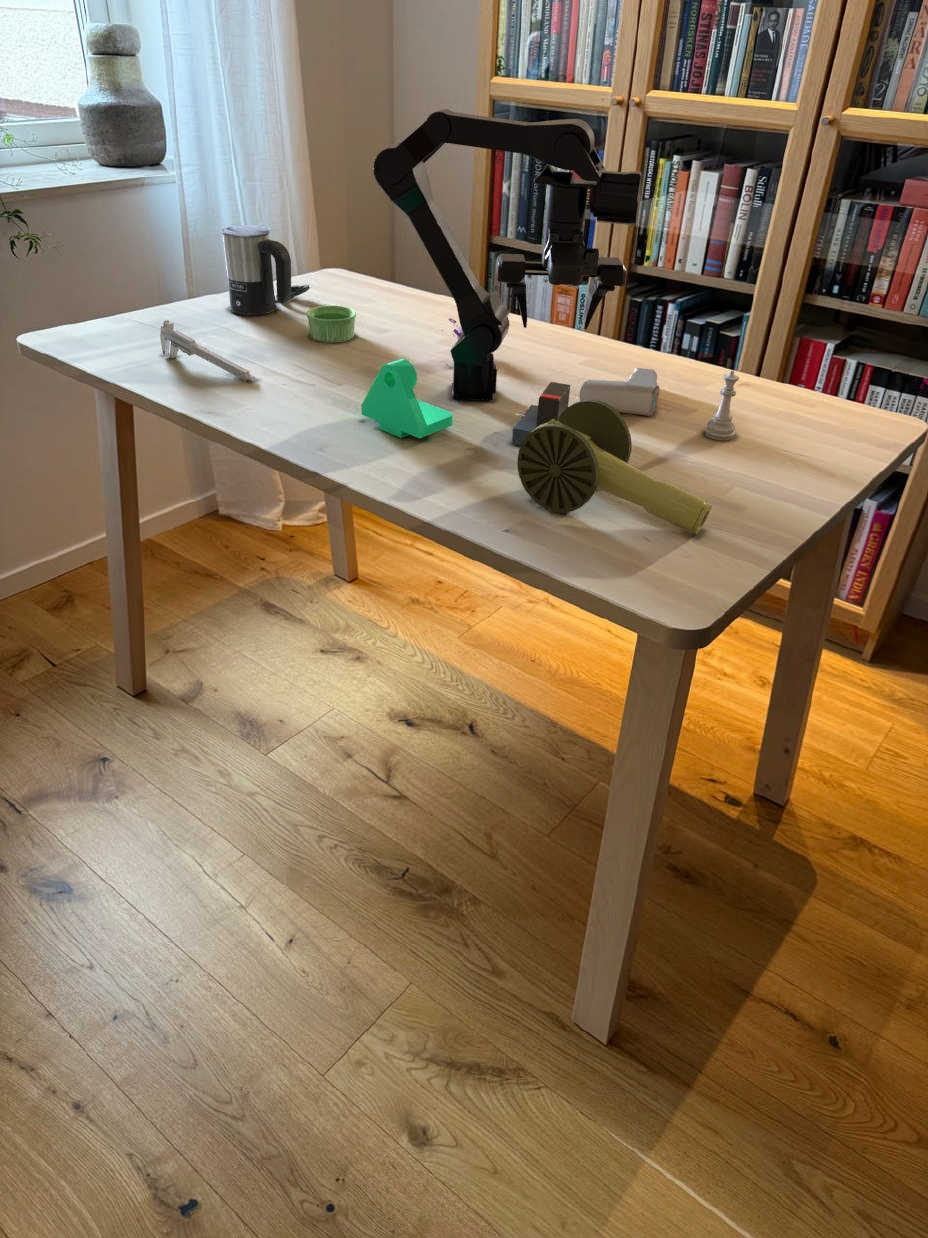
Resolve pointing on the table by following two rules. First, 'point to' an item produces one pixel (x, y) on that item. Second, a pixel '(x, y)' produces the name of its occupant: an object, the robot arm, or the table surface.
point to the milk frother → (256, 270)
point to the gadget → (552, 402)
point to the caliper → (197, 351)
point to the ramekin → (331, 323)
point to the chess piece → (723, 412)
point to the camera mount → (402, 403)
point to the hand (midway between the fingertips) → (554, 327)
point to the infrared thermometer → (625, 392)
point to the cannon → (597, 467)
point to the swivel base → (525, 425)
